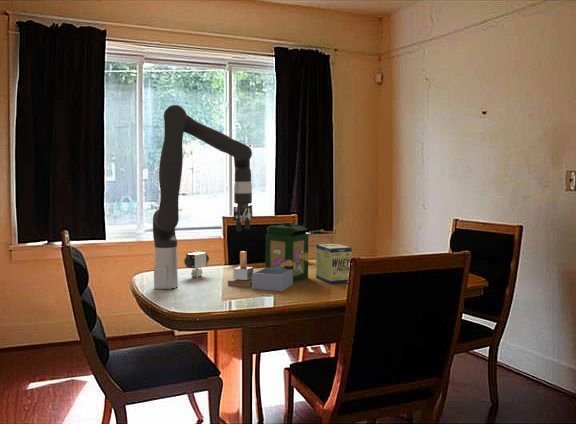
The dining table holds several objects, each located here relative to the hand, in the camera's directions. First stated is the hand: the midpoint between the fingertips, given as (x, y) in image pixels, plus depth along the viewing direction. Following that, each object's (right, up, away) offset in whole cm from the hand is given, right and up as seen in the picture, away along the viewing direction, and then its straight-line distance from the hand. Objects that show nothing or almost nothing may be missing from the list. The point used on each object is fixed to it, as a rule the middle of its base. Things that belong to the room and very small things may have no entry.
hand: (243, 230), depth 241 cm
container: (+18, -23, +14) cm, 32 cm away
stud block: (0, -23, +2) cm, 23 cm away
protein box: (+40, -23, +11) cm, 47 cm away
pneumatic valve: (-23, -22, +18) cm, 37 cm away
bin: (+13, -24, -4) cm, 27 cm away
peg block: (0, -21, +2) cm, 21 cm away
